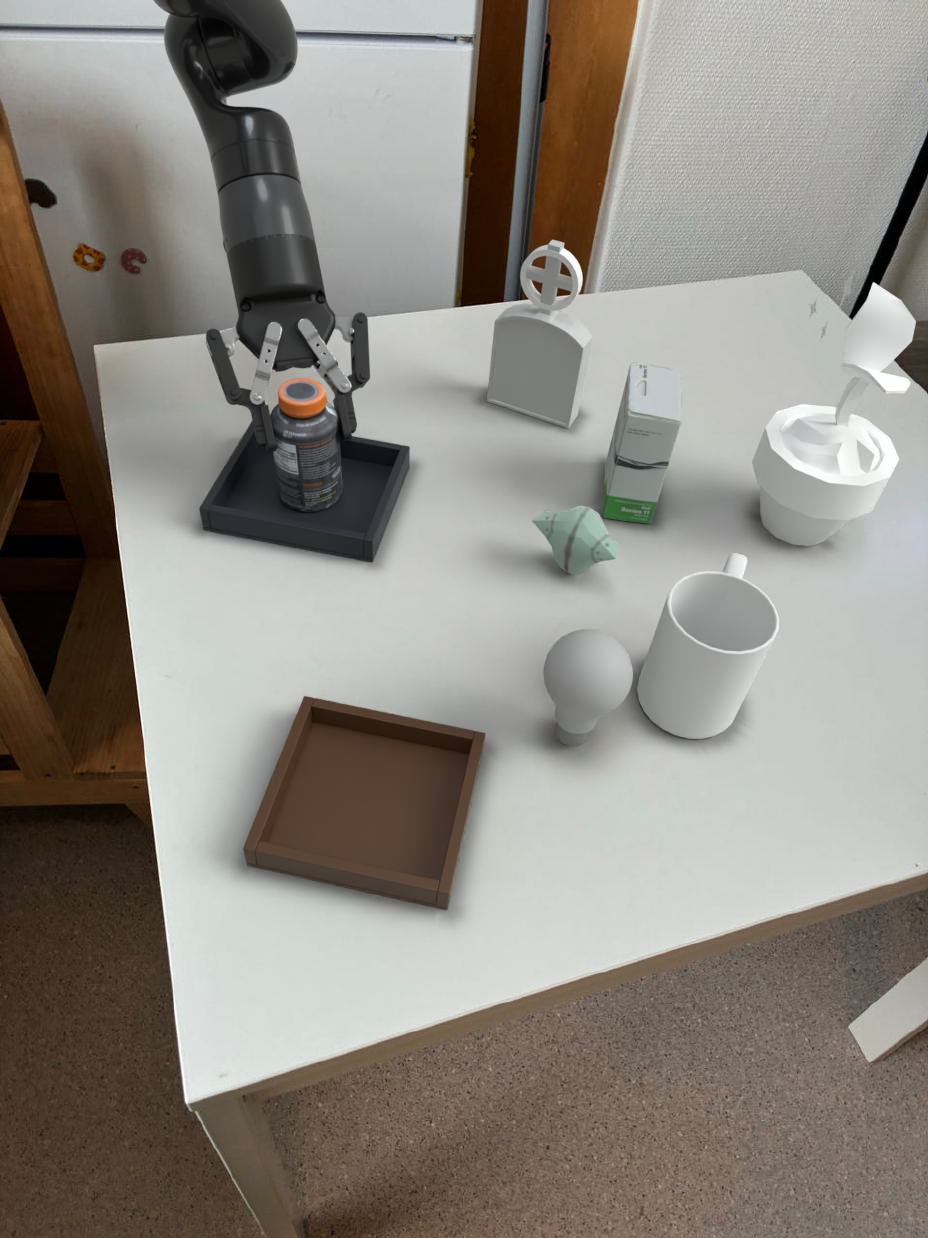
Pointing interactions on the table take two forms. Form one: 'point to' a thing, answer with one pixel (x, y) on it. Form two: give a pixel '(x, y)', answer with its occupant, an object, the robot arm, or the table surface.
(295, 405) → the pill bottle
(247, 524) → the far tray
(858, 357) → the potted plant
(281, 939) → the table surface
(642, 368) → the ink box
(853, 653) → the table surface
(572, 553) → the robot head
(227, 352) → the robot arm
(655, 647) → the mug
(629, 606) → the table surface
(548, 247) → the gravestone
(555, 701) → the lightbulb
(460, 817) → the near tray
